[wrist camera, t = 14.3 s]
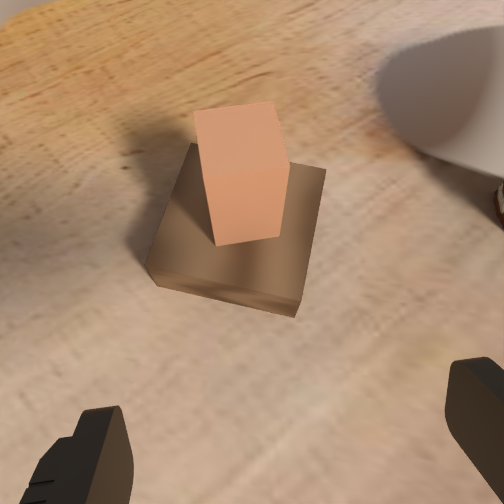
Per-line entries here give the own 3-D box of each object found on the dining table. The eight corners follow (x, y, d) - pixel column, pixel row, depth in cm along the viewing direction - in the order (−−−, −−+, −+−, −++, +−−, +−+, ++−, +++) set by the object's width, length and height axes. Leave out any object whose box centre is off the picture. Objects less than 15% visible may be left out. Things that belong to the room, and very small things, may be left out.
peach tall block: (215, 246, 30) (203, 178, 22) (207, 192, 32) (193, 111, 24) (279, 236, 30) (290, 165, 22) (267, 183, 33) (273, 100, 24)
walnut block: (158, 287, 34) (144, 265, 29) (197, 176, 39) (191, 142, 34) (293, 318, 33) (301, 300, 28) (316, 200, 38) (326, 169, 33)
